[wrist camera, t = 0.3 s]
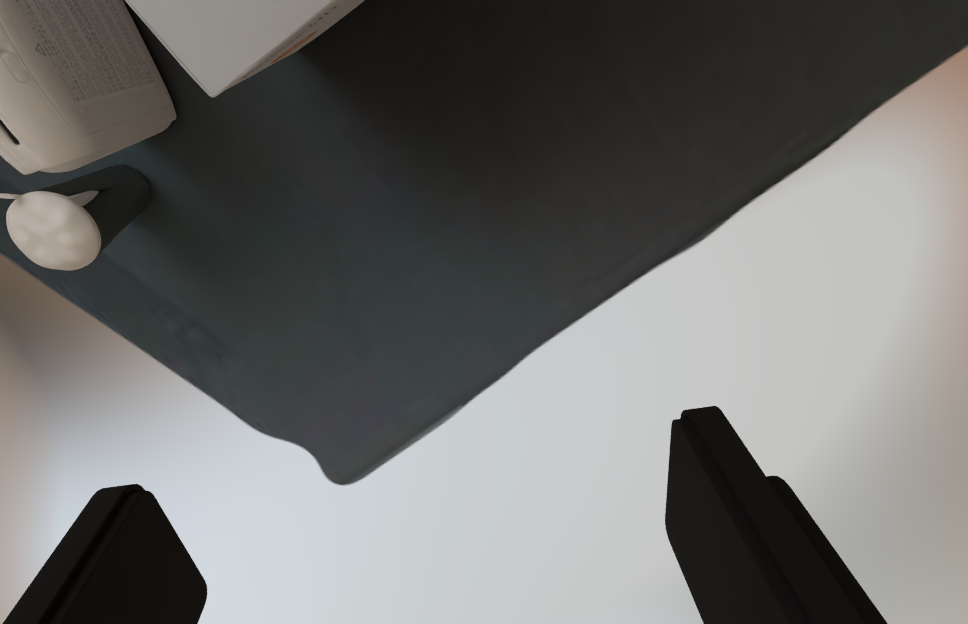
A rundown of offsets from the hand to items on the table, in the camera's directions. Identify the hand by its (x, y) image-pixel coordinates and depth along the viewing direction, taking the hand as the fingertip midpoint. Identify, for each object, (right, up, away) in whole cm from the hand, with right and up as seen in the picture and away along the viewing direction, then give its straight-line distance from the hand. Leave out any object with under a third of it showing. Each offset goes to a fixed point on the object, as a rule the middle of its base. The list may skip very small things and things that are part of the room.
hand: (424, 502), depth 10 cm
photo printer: (-21, +19, +23) cm, 37 cm away
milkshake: (-23, +12, +27) cm, 38 cm away
